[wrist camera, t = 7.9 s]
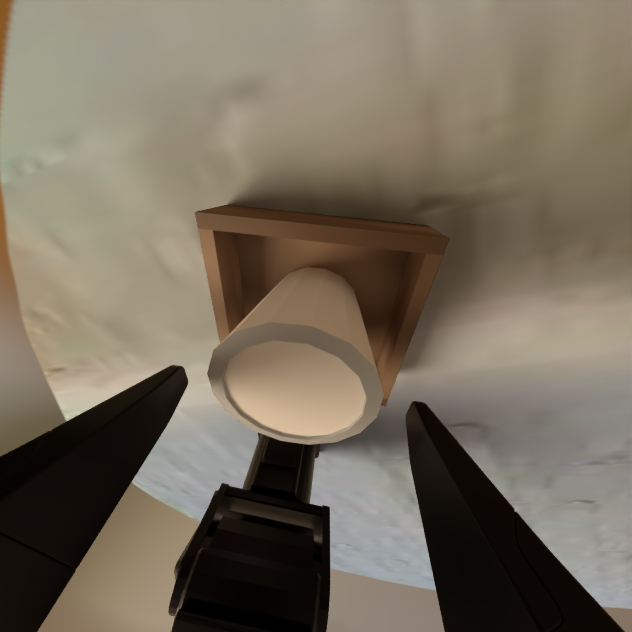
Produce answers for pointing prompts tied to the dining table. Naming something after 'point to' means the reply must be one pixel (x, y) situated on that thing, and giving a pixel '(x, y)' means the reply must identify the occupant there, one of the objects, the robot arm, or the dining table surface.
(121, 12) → the dining table surface
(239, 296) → the walnut crate
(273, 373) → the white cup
